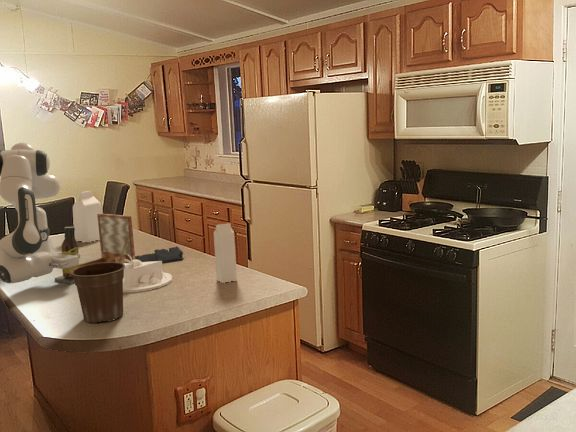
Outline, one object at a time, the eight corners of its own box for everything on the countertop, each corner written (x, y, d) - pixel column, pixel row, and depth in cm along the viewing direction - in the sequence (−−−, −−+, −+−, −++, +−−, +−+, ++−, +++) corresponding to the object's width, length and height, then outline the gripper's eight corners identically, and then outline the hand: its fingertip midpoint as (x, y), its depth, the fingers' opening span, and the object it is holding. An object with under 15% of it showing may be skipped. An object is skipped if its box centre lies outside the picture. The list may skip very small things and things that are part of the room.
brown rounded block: (113, 269, 238) (112, 258, 238) (121, 266, 242) (120, 255, 241) (121, 270, 236) (119, 259, 235) (129, 268, 240) (127, 256, 239)
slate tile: (54, 280, 224) (54, 278, 224) (75, 274, 233) (75, 271, 233) (71, 284, 219) (70, 281, 219) (92, 277, 228) (91, 274, 227)
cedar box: (70, 272, 236) (64, 220, 232) (104, 262, 251) (99, 213, 247) (102, 278, 226) (96, 223, 222) (136, 267, 241) (131, 216, 237)
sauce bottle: (74, 278, 221) (72, 228, 219) (59, 278, 222) (57, 228, 220) (82, 274, 228) (80, 226, 225) (68, 274, 229) (65, 225, 226)
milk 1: (88, 242, 294) (83, 193, 289) (74, 241, 300) (69, 192, 295) (107, 238, 304) (102, 190, 299) (93, 236, 310) (88, 189, 305)
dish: (113, 297, 201) (110, 267, 199) (101, 281, 223) (98, 253, 221) (180, 285, 212) (178, 256, 210) (162, 271, 234) (160, 244, 232)
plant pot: (65, 323, 176) (59, 273, 173) (99, 306, 191) (94, 260, 188) (107, 328, 170) (102, 277, 167) (139, 310, 185) (135, 263, 182)
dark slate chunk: (129, 261, 253) (128, 251, 252) (176, 254, 263) (175, 244, 262) (138, 268, 239) (137, 258, 239) (187, 260, 250) (186, 250, 249)
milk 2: (237, 281, 214) (234, 224, 210) (222, 283, 211) (219, 226, 207) (230, 277, 219) (227, 221, 215) (216, 280, 216) (212, 223, 212)
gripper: (58, 258, 207) (89, 249, 219) (25, 253, 218) (56, 245, 230) (60, 274, 209) (91, 265, 220) (27, 268, 219) (57, 260, 231)
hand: (72, 255), depth 225 cm, fingers closed on sauce bottle, 6 cm apart
